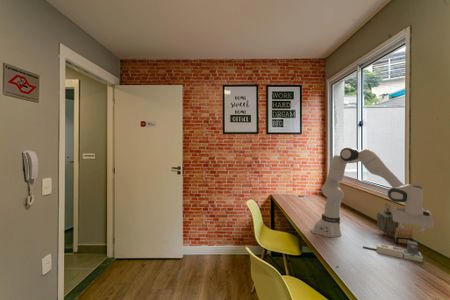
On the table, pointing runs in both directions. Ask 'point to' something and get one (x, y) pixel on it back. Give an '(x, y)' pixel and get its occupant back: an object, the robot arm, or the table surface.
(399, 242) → the ammunition clip
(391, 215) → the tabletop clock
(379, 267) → the table surface
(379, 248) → the power strip
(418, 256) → the parts tray
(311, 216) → the table surface
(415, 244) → the block
